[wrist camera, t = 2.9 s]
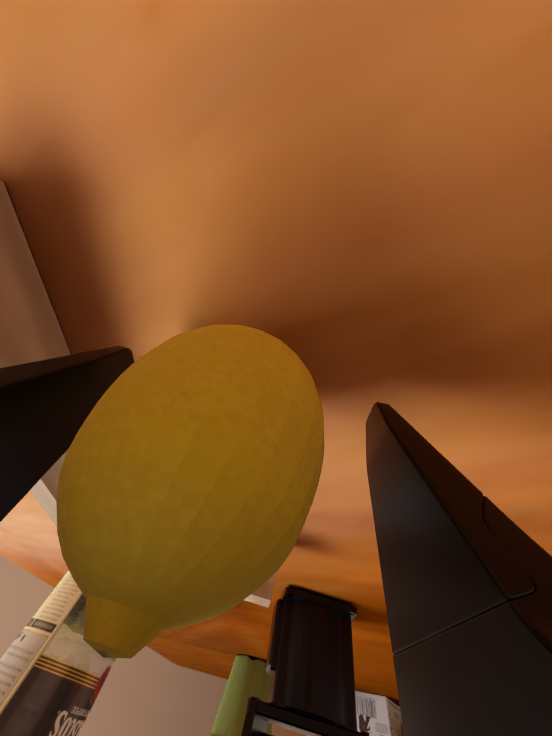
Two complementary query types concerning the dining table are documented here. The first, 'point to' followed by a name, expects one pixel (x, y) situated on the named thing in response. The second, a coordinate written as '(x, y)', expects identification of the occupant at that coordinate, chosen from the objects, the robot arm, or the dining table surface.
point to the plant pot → (241, 695)
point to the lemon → (188, 483)
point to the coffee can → (51, 670)
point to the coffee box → (378, 715)
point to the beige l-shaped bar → (39, 337)
